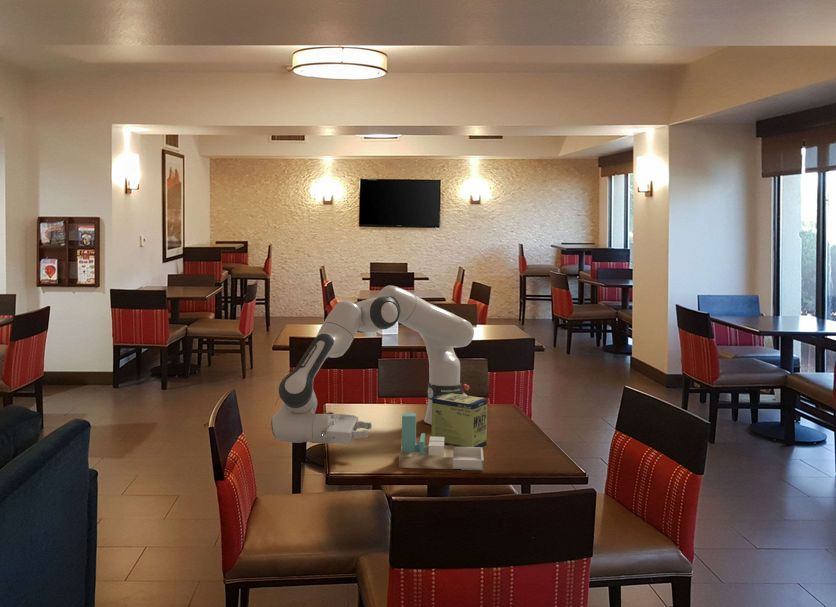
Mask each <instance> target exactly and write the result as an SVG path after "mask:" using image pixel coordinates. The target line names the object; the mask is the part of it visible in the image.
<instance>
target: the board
mask: <svg viewBox="0 0 836 607" xmlns="http://www.w3.org/2000/svg"><path fill="white" fill-rule="evenodd" d="M398 468H400V469H401V468H403V469H405V468H406V469H432V470H433V469H438V470H453V445H444V456H429V444H425V449H424V455H420V452H402V445H401V447H400V451H399V454H398Z"/></svg>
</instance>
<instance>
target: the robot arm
mask: <svg viewBox="0 0 836 607" xmlns="http://www.w3.org/2000/svg"><path fill="white" fill-rule="evenodd" d="M396 323H398V324H401V325H403V326H405V327H406V328H408V329H410V330H412V331H414V332H416V333H418V334H419V336H420V337H421V338H422V340H423V342H424V345H425V349H426V353H427V357H428V365H429V366H428V367H429V369H428V371H429V372H428V375H429V376H428V378H429V380H428V381H429V382H427V398H428V399H427V406H426V407H427V408H426V413H425V417H424V419H423V422H424V423H426V424H428V425H431V426H432V398H435V397H438V396H441V395H444V394H447V393H453V394H459V395H466V396H468V394H466V393H465V392H464V390H465V391H469V389H470V385H468V384H466V383H461V382H460V381H461V362H460V358H458V356H457V354H456V352H455V350H454V348H455V349H456V348H457V349H458V348H464V347H467V346H468V345H470V344H471V342H472V341H473V339H474V335H475V330H474V326H473V325H472V323H471V322H470V321H469V320H466V319H464V318H462V317H461V316H458V315H456V314H455V313H453V312H450V311H448V310H447V309H444V308H441V307H439V306H437V305H435V304H432V303H430V302H428V301H426V300H425V299H422V298H421V297H419V296H417V295H416V294H414V293H412V292H410V291H409V290H406V289H404V288H401V287H399V286H395V285H386V286H384V287H382V288H381V290H380V291H379V292H378V295H377V297H372V298H367V299H362V300H361V301H356V302H352V301H351V300H341V301H338V303H336V305H334V306H333V308H332V309H331V311H330V312H329V314H328V315H327V316H326V318H325V320H324V321H323V323H322V325H321V327H320V329H318V330H319V331H318V333H317V334H316V336H315V337H314V339H313V340H312V341H311V343H310V345H309V346H308V348H307V349H306V351H305V352H304V354H303V355H302V357H301V358H300V360H299V362H298V363H297V365H296V366H295V367H294V368H293V369H292V371H291V372H289V373H287V375H286V376H285V377H283V379H282V380H281V382H280V383H279V385H278V396H279V398H280V399H281V400H282V402H283V403H282V405H281V406H280V408H279V410H277V412H276V413H275V414H274V415H272V417H271V420H270V421H271V423H270V425H271V426H270V427H271V431H272V435H273V436H274V438H275V440H277V441H278V442H279V441H280V442H285V443H293V444H294V443H295V444H296V443H297V444H298V443H299V444H301V443H302V444H303V443H305V442H306V443H307V442H308V443H311V444H340V445H341V444H342V445H348V444H351V443H352V440H353V439H354V440H355V439H356V440H357V439H361V438H368V437H369V430H372V427H373V426H372V425H373V424H372V422H370V421H369V422H367V421H364V420H363V421H362V420H359V417H358V416H356V415H351V414H343V413H342V414H341V413H339V414H337V413H336V414H335V412H333V411H332V412H330V411H329V412H326V413H316V411H317V407H318V399H317V395H316V393H315V390H314V379H315V377H316V375H317V374H318V372H319V370H320V369H321V368H322V365H323V364H324V362H325V361H326V360H327V359H328V358H339V357H342V356H344V354H346V352H347V351H348V350H349V348H350V346H351V345H352V343H353V341H354V339H355V336H356V335H357V333H359V334H360V333H363V334H364V333H372V332H374V333H375V332H377V331H381V330H388V329H390V328H393V326H395V325H396ZM358 429H362V430H358ZM363 429H364V430H363Z"/></svg>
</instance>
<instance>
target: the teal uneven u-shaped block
mask: <svg viewBox="0 0 836 607" xmlns="http://www.w3.org/2000/svg"><path fill="white" fill-rule="evenodd" d="M425 445H426V433H425V432H423V433H422V432H421V433H420V438H419V442H417V413H415V412H402V415H401V446H402V452H420V455H424V449H425Z"/></svg>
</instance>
